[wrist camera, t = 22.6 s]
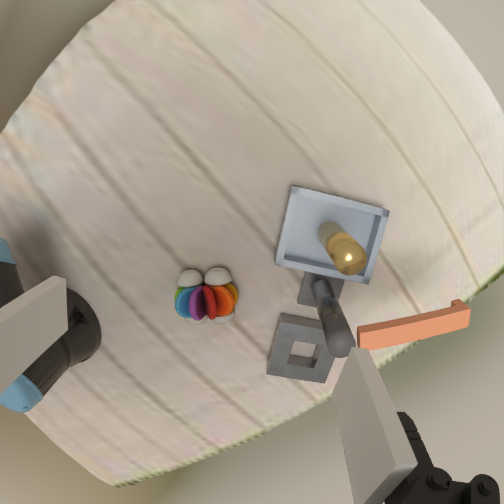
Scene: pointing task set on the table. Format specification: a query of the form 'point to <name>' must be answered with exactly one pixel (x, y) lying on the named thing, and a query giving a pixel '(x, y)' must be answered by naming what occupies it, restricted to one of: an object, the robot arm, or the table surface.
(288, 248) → the tray
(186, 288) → the rainbow disc toy
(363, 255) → the pin
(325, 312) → the gate post
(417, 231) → the table surface
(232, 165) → the table surface
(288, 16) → the table surface
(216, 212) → the table surface
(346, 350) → the swing bar
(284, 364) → the hitch block
